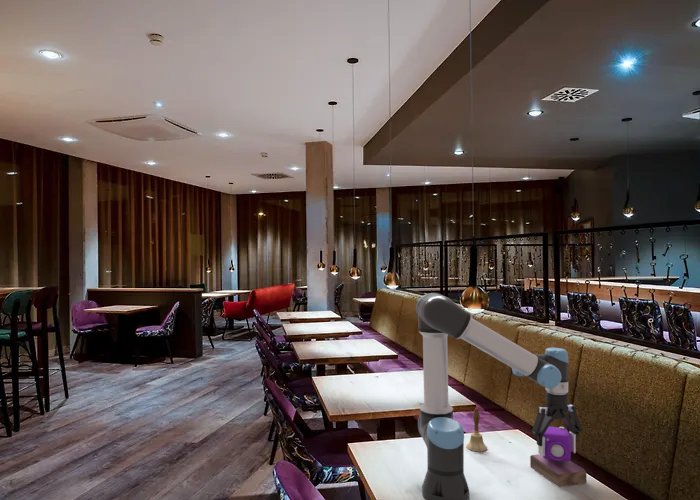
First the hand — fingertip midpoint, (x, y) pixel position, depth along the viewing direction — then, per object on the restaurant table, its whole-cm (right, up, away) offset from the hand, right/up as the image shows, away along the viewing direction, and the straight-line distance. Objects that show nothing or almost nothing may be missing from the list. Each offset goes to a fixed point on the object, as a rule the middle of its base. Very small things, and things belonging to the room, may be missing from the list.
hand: (557, 453), depth 174 cm
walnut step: (0, -8, 0) cm, 8 cm away
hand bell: (-22, -8, +24) cm, 34 cm away
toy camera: (0, -2, 0) cm, 2 cm away
